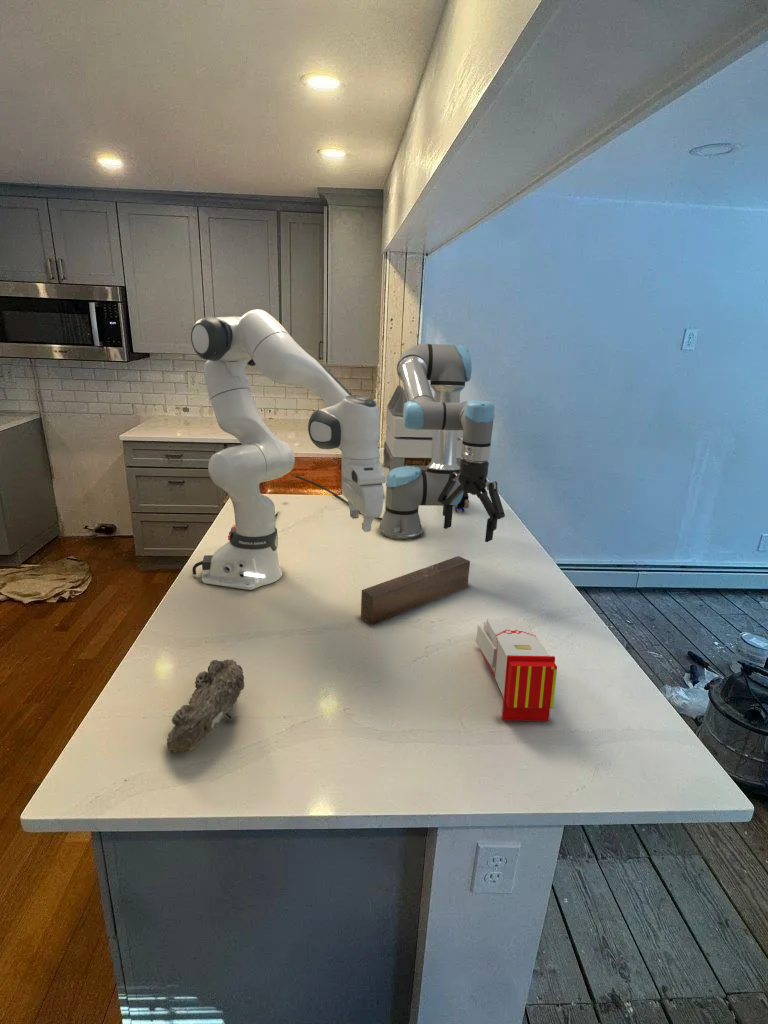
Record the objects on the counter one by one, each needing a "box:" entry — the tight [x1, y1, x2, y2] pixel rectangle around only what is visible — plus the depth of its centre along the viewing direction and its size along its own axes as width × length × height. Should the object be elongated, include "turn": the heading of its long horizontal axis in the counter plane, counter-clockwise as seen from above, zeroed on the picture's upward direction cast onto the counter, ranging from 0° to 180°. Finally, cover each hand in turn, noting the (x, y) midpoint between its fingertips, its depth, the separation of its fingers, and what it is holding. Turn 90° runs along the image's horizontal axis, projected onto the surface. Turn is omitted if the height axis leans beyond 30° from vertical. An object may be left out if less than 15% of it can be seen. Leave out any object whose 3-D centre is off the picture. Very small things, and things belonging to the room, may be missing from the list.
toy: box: [475, 618, 558, 722], centre depth 122 cm, size 12×13×30 cm
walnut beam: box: [360, 555, 471, 626], centre depth 153 cm, size 4×36×8 cm, turn 131°
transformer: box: [383, 384, 463, 471], centre depth 268 cm, size 34×33×41 cm
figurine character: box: [453, 491, 470, 513], centre depth 227 cm, size 7×8×15 cm
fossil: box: [166, 658, 245, 754], centre depth 106 cm, size 22×10×15 cm
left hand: (360, 524), depth 135 cm, fingers open, 8 cm apart
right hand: (467, 534), depth 158 cm, fingers open, 13 cm apart
